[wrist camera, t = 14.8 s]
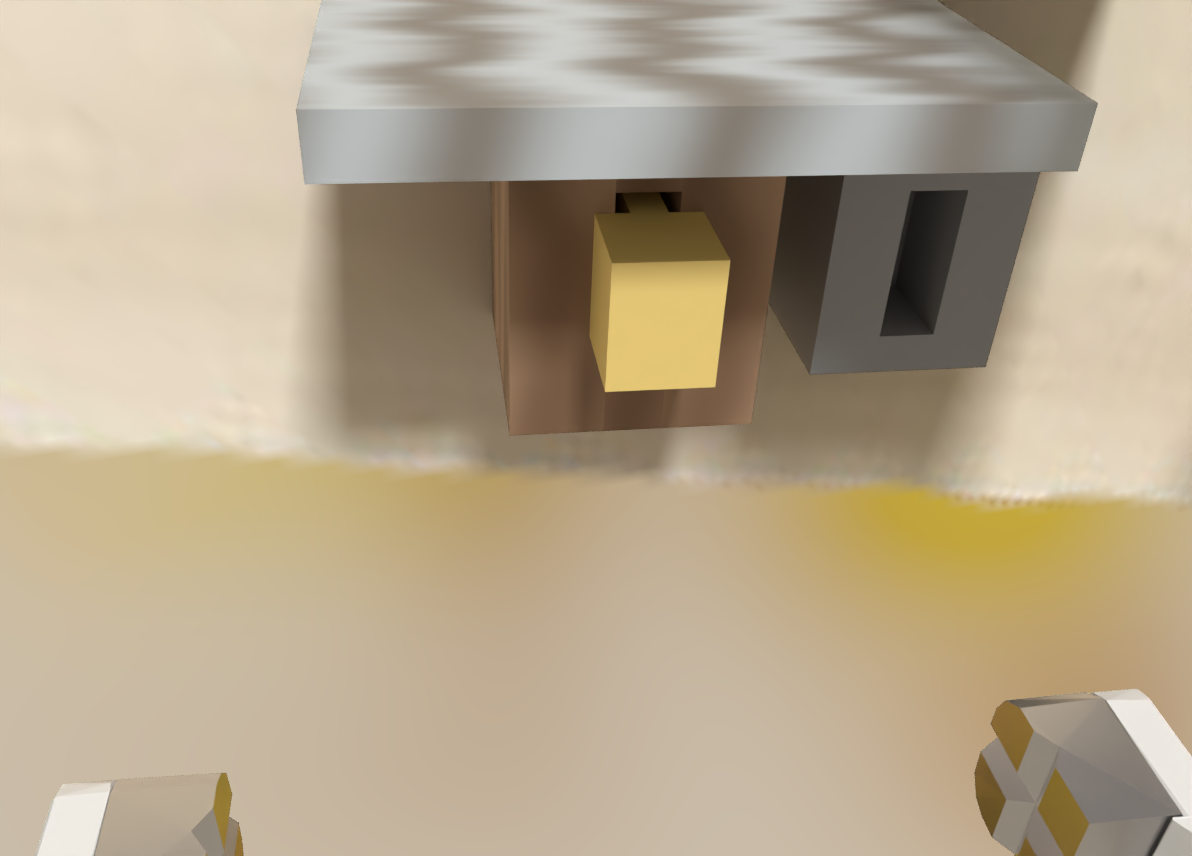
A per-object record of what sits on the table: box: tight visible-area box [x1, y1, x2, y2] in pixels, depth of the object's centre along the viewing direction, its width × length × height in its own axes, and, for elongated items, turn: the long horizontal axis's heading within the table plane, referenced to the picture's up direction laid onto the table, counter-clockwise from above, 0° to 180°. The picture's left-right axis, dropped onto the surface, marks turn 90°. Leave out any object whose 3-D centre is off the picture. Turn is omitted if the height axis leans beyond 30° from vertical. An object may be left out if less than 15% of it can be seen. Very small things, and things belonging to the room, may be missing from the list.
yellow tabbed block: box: [589, 192, 730, 392], centre depth 41 cm, size 4×5×8 cm
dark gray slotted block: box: [769, 172, 1040, 375], centre depth 48 cm, size 8×10×8 cm
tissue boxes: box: [296, 0, 1098, 435], centre depth 42 cm, size 22×16×18 cm
